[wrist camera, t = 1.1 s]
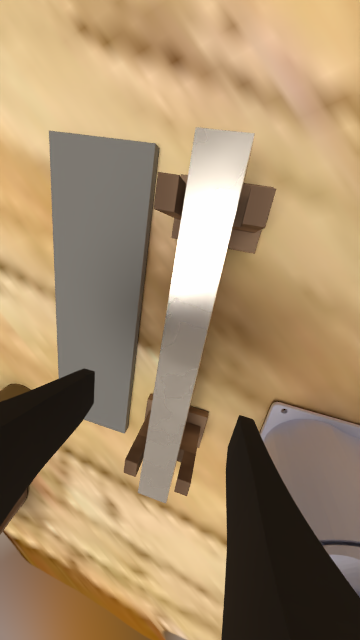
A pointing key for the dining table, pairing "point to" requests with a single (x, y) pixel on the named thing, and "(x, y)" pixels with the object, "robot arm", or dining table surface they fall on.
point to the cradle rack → (243, 238)
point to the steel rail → (193, 294)
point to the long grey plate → (101, 261)
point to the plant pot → (13, 511)
